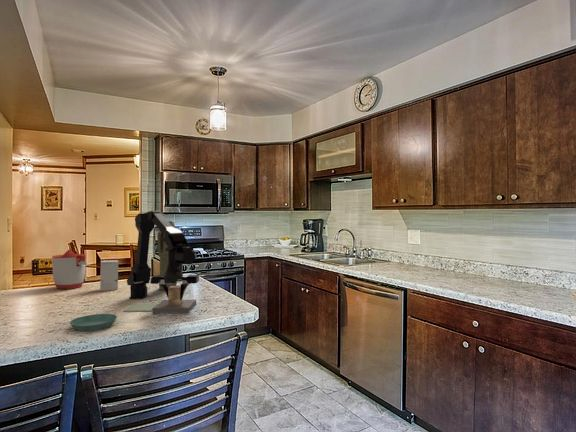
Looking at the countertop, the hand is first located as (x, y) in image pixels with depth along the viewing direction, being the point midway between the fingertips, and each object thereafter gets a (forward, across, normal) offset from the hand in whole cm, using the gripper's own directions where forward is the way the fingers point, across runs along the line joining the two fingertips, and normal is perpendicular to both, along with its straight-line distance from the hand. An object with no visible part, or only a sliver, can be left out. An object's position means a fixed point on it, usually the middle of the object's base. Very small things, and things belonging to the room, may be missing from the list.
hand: (175, 300), depth 155 cm
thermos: (+4, -15, +40) cm, 43 cm away
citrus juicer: (+4, -68, +46) cm, 82 cm away
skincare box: (+4, -45, +40) cm, 60 cm away
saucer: (+4, -22, -23) cm, 32 cm away
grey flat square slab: (+4, 0, 0) cm, 4 cm away
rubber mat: (+4, -14, +1) cm, 14 cm away
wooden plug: (+4, 0, 0) cm, 4 cm away
